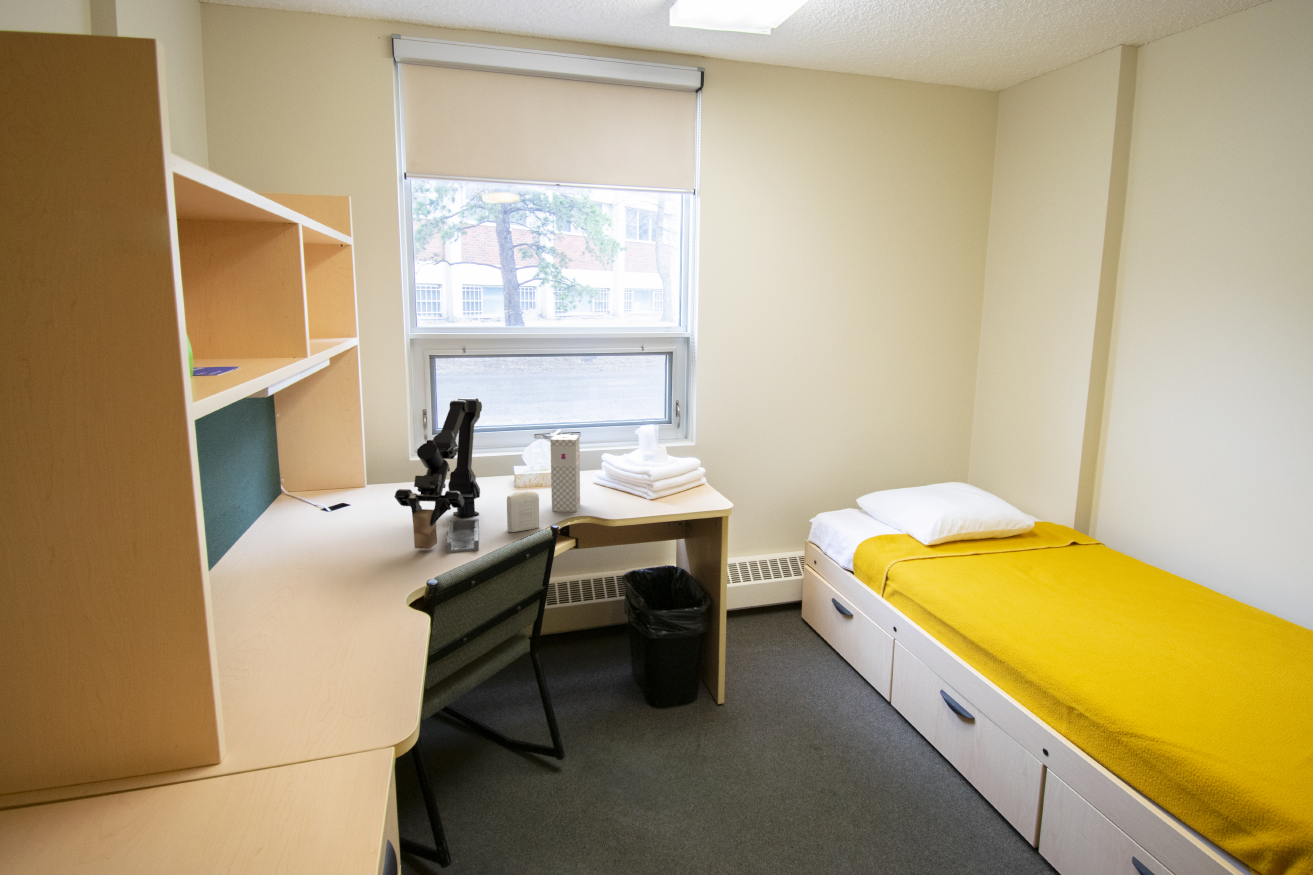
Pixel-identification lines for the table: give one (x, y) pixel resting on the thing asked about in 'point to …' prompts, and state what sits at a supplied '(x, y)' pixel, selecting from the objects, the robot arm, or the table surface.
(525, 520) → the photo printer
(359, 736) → the table surface
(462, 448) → the robot arm
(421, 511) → the wooden tall block
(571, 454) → the box
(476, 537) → the gray rectangular tray
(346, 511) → the table surface
